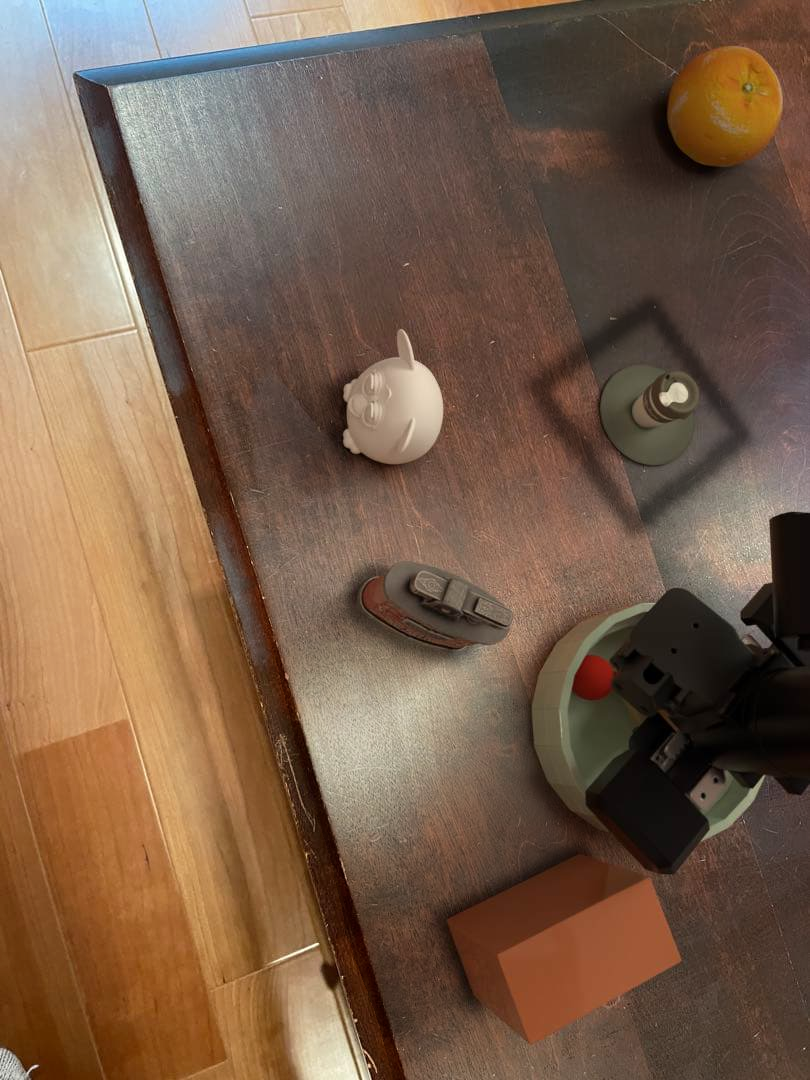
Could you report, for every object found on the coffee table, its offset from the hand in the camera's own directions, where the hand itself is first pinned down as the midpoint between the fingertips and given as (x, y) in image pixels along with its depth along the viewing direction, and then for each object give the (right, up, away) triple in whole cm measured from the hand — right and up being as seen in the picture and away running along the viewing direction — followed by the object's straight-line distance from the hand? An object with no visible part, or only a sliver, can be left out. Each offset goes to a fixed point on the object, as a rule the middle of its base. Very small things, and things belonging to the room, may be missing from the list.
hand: (651, 718), depth 63 cm
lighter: (-16, +7, -1) cm, 18 cm away
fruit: (+7, +45, +12) cm, 47 cm away
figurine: (-18, +20, +1) cm, 27 cm away
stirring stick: (0, 0, 0) cm, 0 cm away
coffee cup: (+1, +21, +6) cm, 22 cm away
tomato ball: (-4, +3, -1) cm, 5 cm away
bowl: (-1, 0, +1) cm, 2 cm away
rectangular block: (-9, -13, -3) cm, 15 cm away
